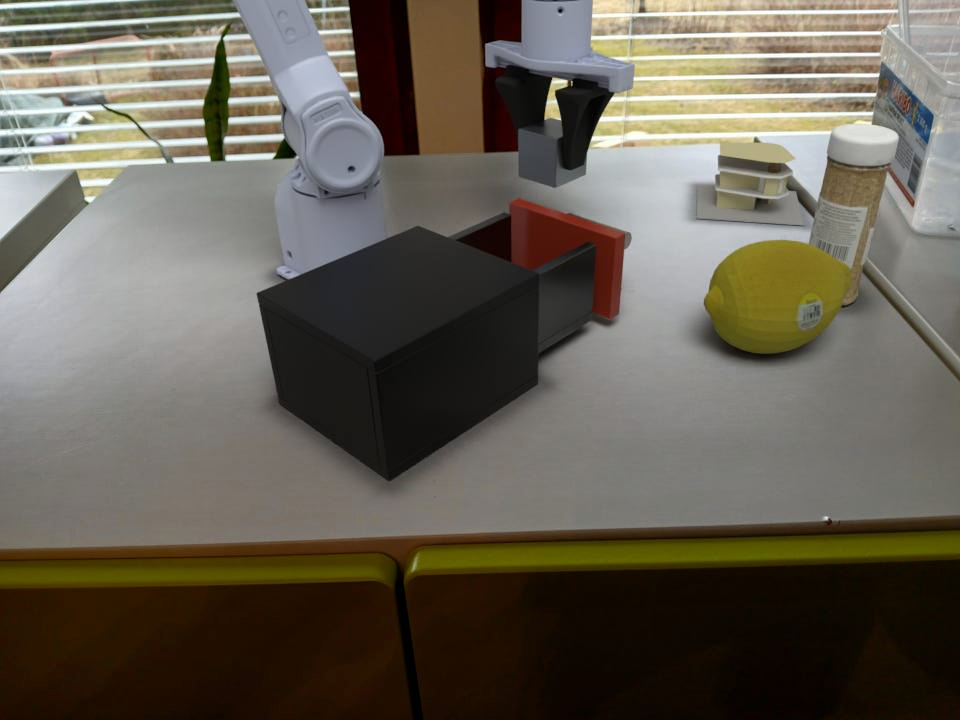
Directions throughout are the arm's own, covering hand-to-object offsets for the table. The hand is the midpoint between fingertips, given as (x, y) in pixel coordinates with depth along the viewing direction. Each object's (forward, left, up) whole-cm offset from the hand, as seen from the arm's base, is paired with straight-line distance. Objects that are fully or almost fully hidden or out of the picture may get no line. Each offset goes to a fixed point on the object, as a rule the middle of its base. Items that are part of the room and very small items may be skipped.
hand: (552, 160), depth 71 cm
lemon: (+24, -4, -8) cm, 25 cm away
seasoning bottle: (+24, +6, -8) cm, 26 cm away
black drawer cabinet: (+9, -26, -8) cm, 28 cm away
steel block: (0, 0, -1) cm, 1 cm away
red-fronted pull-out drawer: (+9, -13, -7) cm, 17 cm away
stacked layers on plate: (+10, +19, -8) cm, 23 cm away
